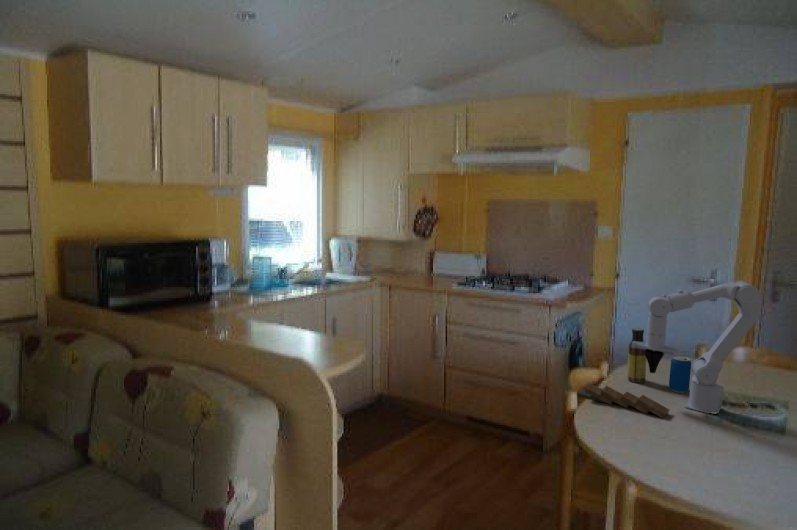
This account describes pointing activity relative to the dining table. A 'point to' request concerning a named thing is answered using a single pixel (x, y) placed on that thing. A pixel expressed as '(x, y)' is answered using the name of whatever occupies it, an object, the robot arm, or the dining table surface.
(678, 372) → the beverage can
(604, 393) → the domino
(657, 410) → the domino
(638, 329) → the sauce bottle
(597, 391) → the domino
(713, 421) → the dining table surface
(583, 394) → the domino
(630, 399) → the domino
